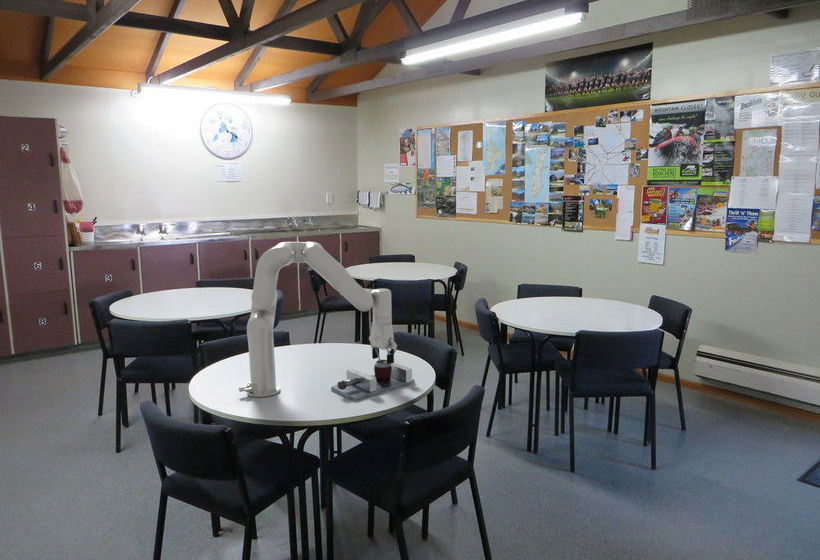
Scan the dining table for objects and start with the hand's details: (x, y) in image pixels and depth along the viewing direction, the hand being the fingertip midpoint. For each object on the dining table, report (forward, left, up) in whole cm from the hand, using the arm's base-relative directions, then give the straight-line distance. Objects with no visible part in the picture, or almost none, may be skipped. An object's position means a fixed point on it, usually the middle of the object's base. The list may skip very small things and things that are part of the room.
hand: (383, 360), depth 234 cm
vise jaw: (-16, 0, -8) cm, 18 cm away
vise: (-5, 0, -10) cm, 11 cm away
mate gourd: (0, 0, -8) cm, 9 cm away
